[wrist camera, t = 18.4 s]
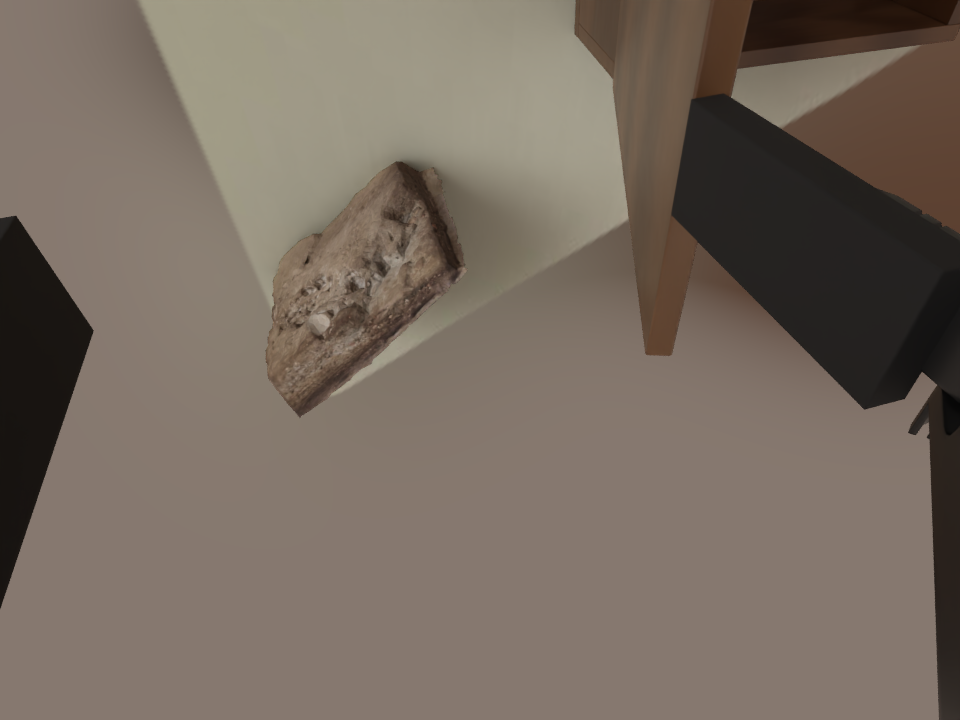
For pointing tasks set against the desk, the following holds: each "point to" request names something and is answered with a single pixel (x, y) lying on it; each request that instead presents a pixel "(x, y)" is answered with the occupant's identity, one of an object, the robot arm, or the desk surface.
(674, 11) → the lid
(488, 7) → the desk surface
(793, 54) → the storage box
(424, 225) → the mineral sample
